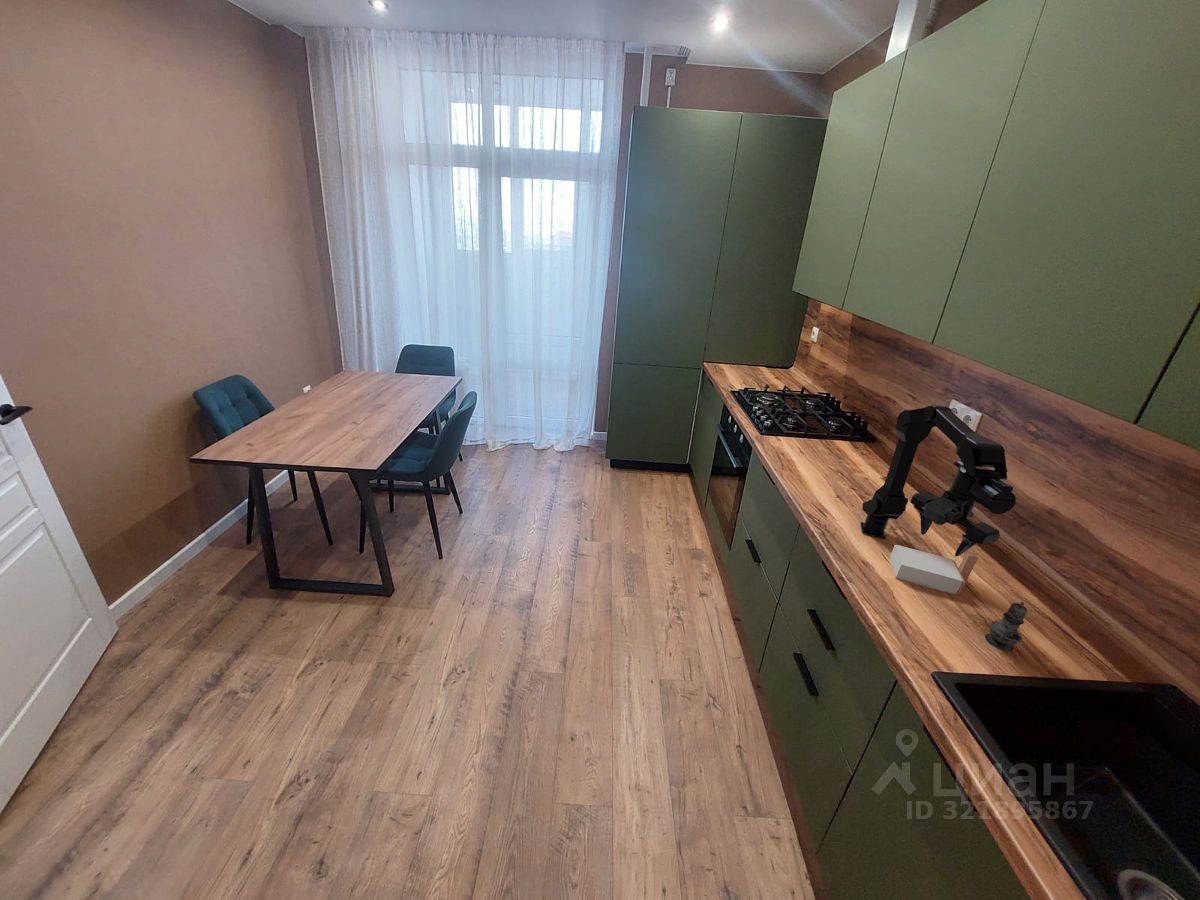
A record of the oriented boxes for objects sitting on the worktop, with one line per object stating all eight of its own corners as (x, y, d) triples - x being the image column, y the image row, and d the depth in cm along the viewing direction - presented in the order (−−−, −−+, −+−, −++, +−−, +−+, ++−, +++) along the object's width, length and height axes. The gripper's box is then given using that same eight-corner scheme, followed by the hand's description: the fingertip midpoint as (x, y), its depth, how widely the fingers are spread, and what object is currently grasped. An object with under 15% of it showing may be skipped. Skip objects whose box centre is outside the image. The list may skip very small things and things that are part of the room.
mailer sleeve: (889, 557, 136) (895, 544, 134) (945, 572, 132) (952, 559, 130) (895, 578, 127) (901, 564, 125) (955, 594, 123) (962, 581, 121)
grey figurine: (984, 628, 113) (1006, 588, 108) (1015, 642, 109) (1039, 602, 104) (982, 642, 108) (1006, 602, 103) (1015, 657, 105) (1040, 616, 100)
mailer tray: (892, 557, 136) (904, 528, 132) (956, 573, 131) (971, 545, 127) (898, 577, 127) (911, 548, 123) (967, 596, 122) (983, 566, 118)
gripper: (906, 475, 118) (884, 527, 125) (980, 516, 103) (951, 573, 109) (938, 471, 122) (915, 522, 129) (1014, 510, 106) (984, 566, 113)
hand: (939, 544), depth 120 cm, fingers open, 9 cm apart
